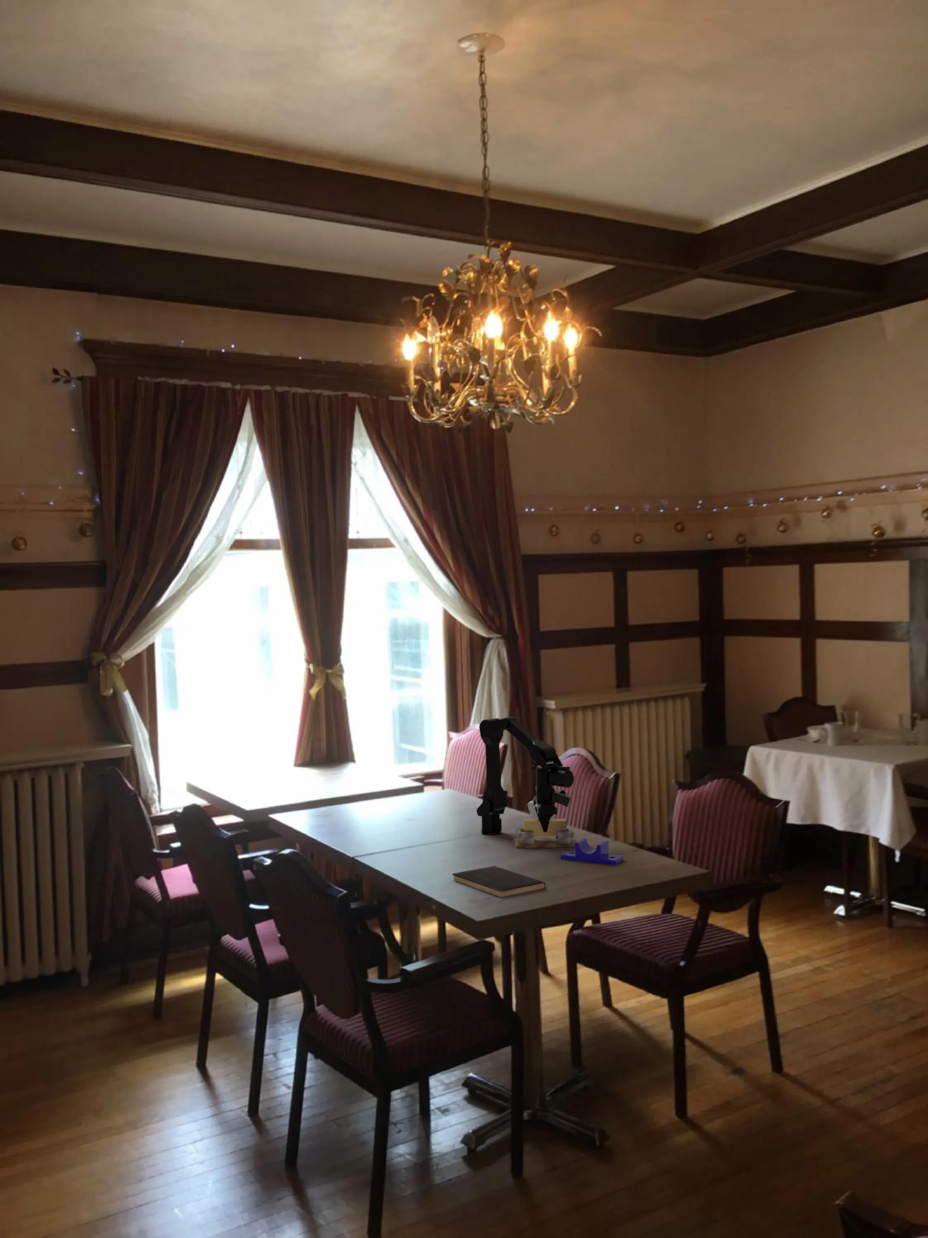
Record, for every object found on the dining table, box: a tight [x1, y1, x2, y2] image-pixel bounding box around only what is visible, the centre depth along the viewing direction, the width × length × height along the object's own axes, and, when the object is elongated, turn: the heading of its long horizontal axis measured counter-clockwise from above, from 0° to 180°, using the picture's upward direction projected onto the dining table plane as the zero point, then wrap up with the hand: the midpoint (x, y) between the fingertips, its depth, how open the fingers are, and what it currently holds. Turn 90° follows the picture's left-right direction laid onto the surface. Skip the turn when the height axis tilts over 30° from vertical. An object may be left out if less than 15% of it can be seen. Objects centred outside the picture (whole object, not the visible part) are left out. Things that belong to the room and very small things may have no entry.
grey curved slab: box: [527, 800, 555, 819], centre depth 393 cm, size 17×5×10 cm, turn 16°
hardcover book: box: [451, 865, 546, 898], centre depth 310 cm, size 16×23×2 cm
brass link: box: [522, 818, 568, 837], centre depth 361 cm, size 14×4×5 cm, turn 92°
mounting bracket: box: [560, 837, 624, 866], centre depth 338 cm, size 18×7×6 cm, turn 63°
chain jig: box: [513, 826, 577, 849], centre depth 361 cm, size 20×11×4 cm, turn 92°
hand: (544, 831), depth 361 cm, fingers closed on brass link, 3 cm apart
